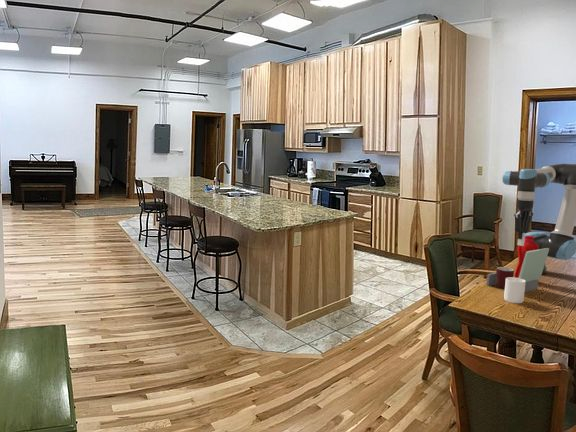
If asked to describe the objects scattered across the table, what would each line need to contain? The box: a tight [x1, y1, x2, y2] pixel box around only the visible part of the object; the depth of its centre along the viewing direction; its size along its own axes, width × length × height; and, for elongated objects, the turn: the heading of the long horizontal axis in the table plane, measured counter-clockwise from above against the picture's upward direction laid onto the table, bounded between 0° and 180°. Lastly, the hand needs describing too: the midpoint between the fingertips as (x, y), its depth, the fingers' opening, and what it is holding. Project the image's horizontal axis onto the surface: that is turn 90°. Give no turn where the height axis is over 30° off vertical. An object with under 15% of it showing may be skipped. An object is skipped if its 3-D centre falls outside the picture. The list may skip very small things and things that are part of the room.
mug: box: [495, 266, 515, 290], centre depth 227 cm, size 11×8×10 cm
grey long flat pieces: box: [485, 272, 539, 293], centre depth 230 cm, size 18×16×6 cm
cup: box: [503, 276, 526, 304], centre depth 211 cm, size 8×12×10 cm
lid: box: [519, 248, 549, 282], centre depth 219 cm, size 18×16×1 cm
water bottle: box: [513, 236, 539, 278], centre depth 241 cm, size 9×11×25 cm
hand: (520, 245), depth 229 cm, fingers closed
